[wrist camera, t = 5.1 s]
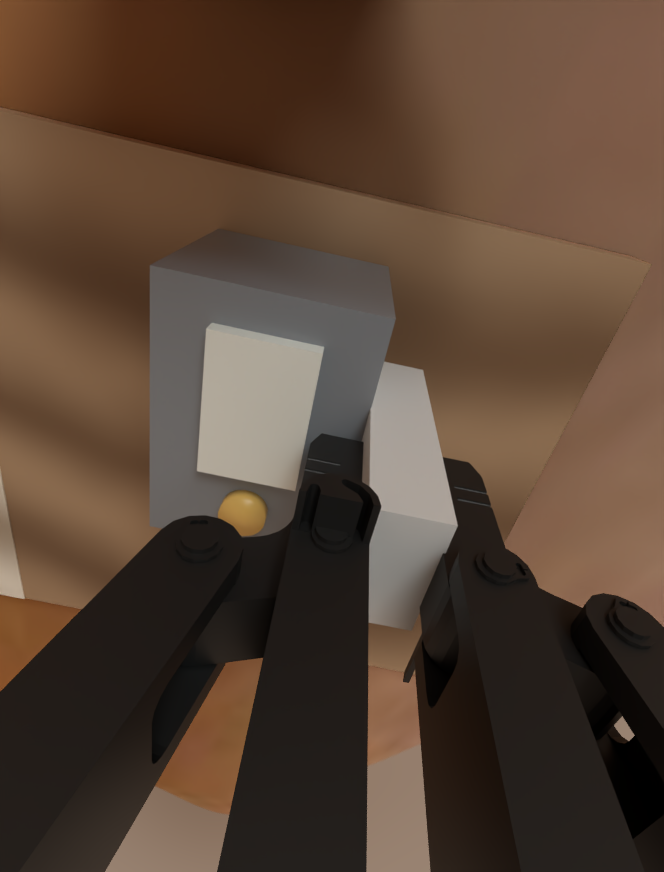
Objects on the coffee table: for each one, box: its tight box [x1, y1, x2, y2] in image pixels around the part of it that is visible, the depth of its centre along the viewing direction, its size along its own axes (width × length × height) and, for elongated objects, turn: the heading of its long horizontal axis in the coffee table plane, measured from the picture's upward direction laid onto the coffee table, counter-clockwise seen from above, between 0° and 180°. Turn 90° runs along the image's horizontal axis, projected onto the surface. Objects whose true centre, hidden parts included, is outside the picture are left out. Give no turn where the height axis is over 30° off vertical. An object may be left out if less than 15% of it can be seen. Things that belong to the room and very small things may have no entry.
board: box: [0, 107, 652, 675], centre depth 18 cm, size 23×28×1 cm
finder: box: [150, 229, 396, 537], centre depth 13 cm, size 7×5×5 cm
